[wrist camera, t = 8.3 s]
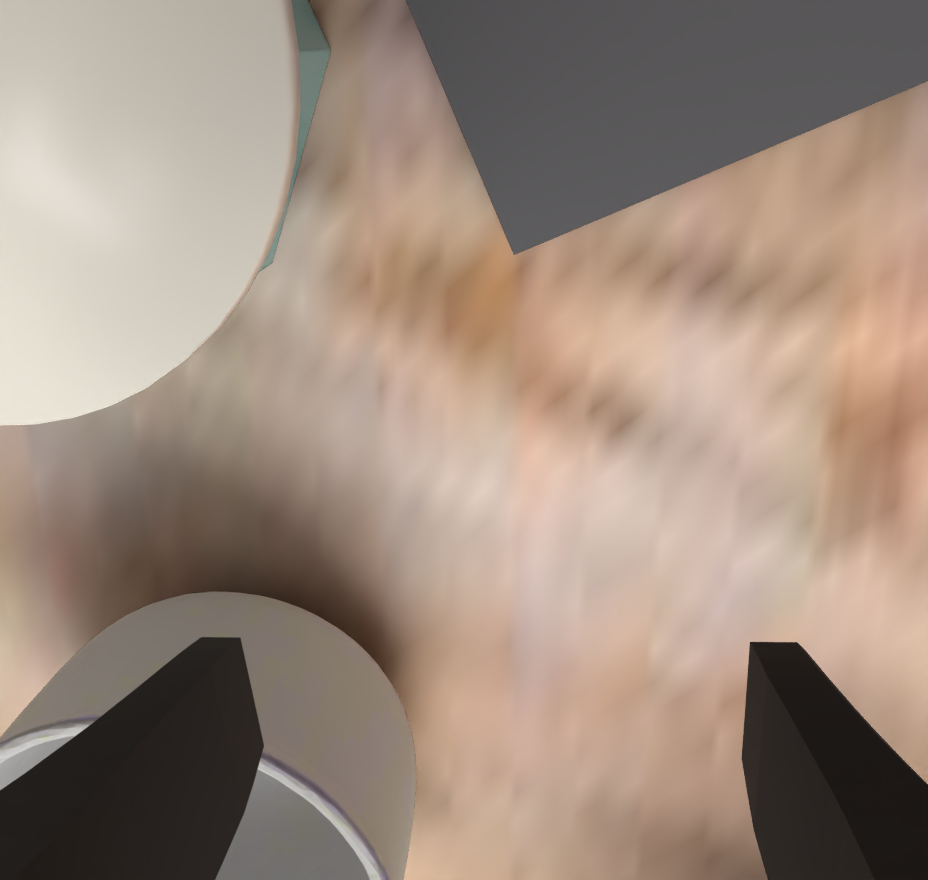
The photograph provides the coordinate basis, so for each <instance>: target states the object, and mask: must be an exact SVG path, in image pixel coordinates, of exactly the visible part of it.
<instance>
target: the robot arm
mask: <svg viewBox="0 0 928 880" xmlns="http://www.w3.org/2000/svg"><path fill="white" fill-rule="evenodd" d="M263 748H264V742H263V738H262V733H261V729H260V724H259V720H258V715H257V711H256V706H255V701H254V697H253V692H252V688H251V683H250V679H249V674H248V669H247V665H246V660H245V656H244V651H243V647H242V642H241V638H240V637H201V638H199V639H198V640H196V641H195V642H194V643H192V644H191V645H190V646H188V647H187V648H186V649H184V650H183V651H182V652H180V653H179V654H178V655H177V656H175V657H174V658H173V659H172V660H170V661H169V662H168V663H167V664H165V665H164V666H163V667H162V668H161V669H159V670H158V671H157V672H156V673H154V674H153V675H152V676H151V677H149V678H148V679H147V680H146V681H145V682H143V683H142V684H141V685H140V686H138V687H137V688H136V689H135V690H133V691H132V692H131V693H130V694H128V695H127V696H126V697H125V698H123V699H122V700H121V701H120V702H118V703H117V704H116V705H115V706H113V707H112V708H111V709H110V710H108V711H107V712H106V713H105V714H103V715H102V716H101V717H100V718H98V719H97V720H96V721H95V722H93V723H92V724H91V725H89V726H88V727H87V728H86V729H84V730H83V731H82V732H80V733H79V734H77V735H76V736H75V737H73V738H72V739H71V740H69V741H68V742H67V743H65V744H64V745H62V746H61V747H60V748H58V749H57V750H56V751H54V752H53V753H52V754H50V755H49V756H48V757H46V758H45V759H43V760H42V761H41V762H39V763H38V764H37V765H35V766H34V767H33V768H31V769H30V770H29V771H27V772H26V773H24V774H23V775H22V776H20V777H19V778H17V779H16V780H14V781H13V782H11V783H10V784H9V785H7V786H6V787H4V788H3V789H1V790H0V880H215V879H216V877H217V875H218V872H219V870H220V868H221V866H222V863H223V861H224V859H225V856H226V854H227V852H228V850H229V847H230V845H231V843H232V840H233V838H234V836H235V833H236V831H237V829H238V827H239V824H240V822H241V819H242V817H243V815H244V812H245V809H246V806H247V803H248V800H249V796H250V793H251V790H252V787H253V784H254V780H255V777H256V773H257V769H258V766H259V762H260V759H261V755H262V752H263ZM742 762H743V769H744V775H745V781H746V787H747V793H748V799H749V805H750V810H751V816H752V822H753V827H754V832H755V836H756V839H757V843H758V846H759V850H760V853H761V857H762V860H763V864H764V867H765V871H766V874H767V878H768V880H928V784H927V783H926V782H925V781H924V780H923V779H922V778H921V777H920V776H919V775H918V774H917V773H916V772H915V771H914V770H913V769H912V768H911V767H910V766H909V765H908V764H907V763H906V762H905V761H904V760H903V759H902V758H901V757H900V756H899V755H898V754H897V753H896V752H895V751H894V750H893V749H892V748H891V747H890V746H889V745H888V743H887V742H886V741H885V740H884V739H883V738H882V737H881V736H880V735H879V734H878V733H877V732H876V731H875V730H874V729H873V728H872V727H871V726H870V724H869V723H868V722H867V721H866V720H865V719H864V718H863V717H862V716H861V715H860V713H859V712H858V711H857V710H856V709H855V708H854V707H853V706H852V704H851V703H850V702H849V701H848V700H847V699H846V698H845V696H844V695H843V694H842V693H841V692H840V691H839V690H838V688H837V687H836V686H835V685H834V684H833V683H832V681H831V680H830V679H829V678H828V677H827V676H826V674H825V673H824V672H823V671H822V670H821V668H820V667H819V666H818V665H817V664H816V663H815V661H814V660H813V659H812V658H811V657H810V655H809V654H808V653H807V652H806V651H805V650H804V649H803V648H802V647H801V646H800V645H799V644H798V643H797V642H750V651H749V665H748V679H747V693H746V707H745V721H744V735H743V749H742Z"/></svg>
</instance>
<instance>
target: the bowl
mask: <svg viewBox="0 0 928 880" xmlns="http://www.w3.org/2000/svg"><path fill="white" fill-rule="evenodd" d="M292 7H293V14H294V21H295V28H296V34H297V41H298V48H299V70H300V103H301V109H300V120H299V131H298V142H297V153H296V162H295V166H294V171H293V175H292V180H291V184H290V189H289V193H288V198H287V203H286V207H285V210H284V213H283V216H282V218H281V221H280V224H279V227H278V229H277V232H276V235H275V238H274V240H273V243H272V246H271V248H270V251H269V253H268V255H267V257H266V259H265V261H264V263H263V264H262V266H261V268H260V270H259V272H260V271H261V270H263V269H264V268H266V267H267V266H269V265H270V264H271V263H272V262H273V258H274V254H275V251H276V247H277V243H278V240H279V236H280V233H281V229H282V225H283V222H284V218H285V215H286V211H287V207H288V204H289V200H290V197H291V193H292V189H293V186H294V182H295V178H296V175H297V171H298V168H299V164H300V160H301V157H302V153H303V150H304V146H305V142H306V139H307V135H308V132H309V128H310V124H311V121H312V117H313V114H314V110H315V106H316V103H317V99H318V95H319V92H320V88H321V85H322V81H323V77H324V74H325V70H326V67H327V63H328V59H329V56H330V52H331V50H330V48H329V45H328V43H327V41H326V39H325V37H324V34H323V32H322V30H321V28H320V26H319V24H318V21H317V19H316V17H315V15H314V13H313V11H312V8H311V6H310V4H309V2H308V0H292ZM259 272H258V273H259Z"/></svg>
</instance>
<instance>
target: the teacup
mask: <svg viewBox="0 0 928 880" xmlns="http://www.w3.org/2000/svg"><path fill="white" fill-rule="evenodd" d="M201 637H240V638H241V642H242V647H243V651H244V656H245V660H246V665H247V669H248V674H249V679H250V683H251V688H252V692H253V697H254V701H255V706H256V711H257V715H258V720H259V724H260V729H261V733H262V738H263V742H264V748H263V752H262V755H261V759H260V762H259V766H258V769H257V773H256V777H255V780H254V784H253V787H252V790H251V793H250V796H249V800H248V803H247V806H246V809H245V812H244V815H243V817H242V819H241V822H240V824H239V827H238V829H237V831H236V833H235V836H234V838H233V840H232V843H231V845H230V847H229V850H228V852H227V854H226V856H225V859H224V861H223V863H222V866H221V868H220V870H219V872H218V875H217V877H216V879H215V880H403V879H404V874H405V868H406V863H407V857H408V851H409V844H410V837H411V830H412V823H413V814H414V805H415V795H416V758H415V747H414V742H413V737H412V732H411V729H410V725H409V722H408V719H407V716H406V713H405V710H404V708H403V705H402V703H401V700H400V698H399V696H398V695H397V693H396V691H395V689H394V687H393V685H392V684H391V682H390V681H389V679H388V678H387V677H386V675H385V674H384V672H383V671H382V670H381V668H380V667H379V666H378V664H377V663H376V662H375V661H374V660H373V659H372V657H371V656H370V655H369V654H368V653H367V652H366V651H365V650H364V649H363V648H362V647H361V646H360V645H359V644H358V643H357V642H356V641H354V640H353V639H352V638H350V637H349V636H348V635H346V634H345V633H344V632H342V631H341V630H340V629H338V628H337V627H336V626H334V625H332V624H331V623H329V622H327V621H325V620H324V619H322V618H320V617H319V616H317V615H315V614H313V613H311V612H308V611H306V610H304V609H302V608H299V607H297V606H294V605H291V604H289V603H286V602H283V601H280V600H277V599H273V598H269V597H265V596H260V595H253V594H245V593H237V592H216V591H213V592H202V593H192V594H185V595H181V596H176V597H172V598H168V599H165V600H161V601H158V602H155V603H152V604H149V605H147V606H144V607H142V608H140V609H138V610H136V611H134V612H132V613H129V614H127V615H125V616H124V617H122V618H121V619H119V620H118V621H116V622H114V623H113V624H111V625H110V626H108V627H107V628H105V629H104V630H103V631H101V632H100V633H99V634H98V635H97V636H95V637H94V638H93V639H92V640H90V641H89V642H88V643H87V644H86V645H85V646H84V647H82V648H81V649H80V650H79V651H78V652H77V653H76V654H75V655H74V656H73V657H72V658H71V659H70V660H69V661H68V662H67V663H66V664H65V665H64V666H63V667H62V668H61V669H60V670H59V671H58V672H57V673H56V675H55V676H54V677H53V678H52V679H51V680H50V681H49V682H48V683H47V685H46V686H45V687H44V688H43V689H42V690H41V691H40V692H39V693H38V695H37V696H36V697H35V698H34V699H33V700H32V701H31V702H30V703H29V705H28V706H27V707H26V708H25V709H24V710H23V711H22V712H21V714H20V715H19V716H18V717H17V718H16V719H15V721H14V722H13V723H12V724H11V725H10V727H9V728H8V729H7V730H6V731H5V733H4V734H3V735H2V736H1V737H0V790H1V789H3V788H4V787H6V786H7V785H9V784H10V783H11V782H13V781H14V780H16V779H17V778H19V777H20V776H22V775H23V774H24V773H26V772H27V771H29V770H30V769H31V768H33V767H34V766H35V765H37V764H38V763H39V762H41V761H42V760H43V759H45V758H46V757H48V756H49V755H50V754H52V753H53V752H54V751H56V750H57V749H58V748H60V747H61V746H62V745H64V744H65V743H67V742H68V741H69V740H71V739H72V738H73V737H75V736H76V735H77V734H79V733H80V732H82V731H83V730H84V729H86V728H87V727H88V726H89V725H91V724H92V723H93V722H95V721H96V720H97V719H98V718H100V717H101V716H102V715H103V714H105V713H106V712H107V711H108V710H110V709H111V708H112V707H113V706H115V705H116V704H117V703H118V702H120V701H121V700H122V699H123V698H125V697H126V696H127V695H128V694H130V693H131V692H132V691H133V690H135V689H136V688H137V687H138V686H140V685H141V684H142V683H143V682H145V681H146V680H147V679H148V678H149V677H151V676H152V675H153V674H154V673H156V672H157V671H158V670H159V669H161V668H162V667H163V666H164V665H165V664H167V663H168V662H169V661H170V660H172V659H173V658H174V657H175V656H177V655H178V654H179V653H180V652H182V651H183V650H184V649H186V648H187V647H188V646H190V645H191V644H192V643H194V642H195V641H196V640H198V639H199V638H201Z"/></svg>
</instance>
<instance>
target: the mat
mask: <svg viewBox="0 0 928 880" xmlns="http://www.w3.org/2000/svg"><path fill="white" fill-rule="evenodd" d="M406 1H407V4H408V6H409V8H410V11H411V13H412V15H413V18H414V20H415V23H416V25H417V27H418V30H419V32H420V34H421V37H422V39H423V41H424V44H425V46H426V49H427V51H428V53H429V56H430V58H431V60H432V63H433V65H434V67H435V70H436V72H437V74H438V77H439V79H440V82H441V84H442V86H443V89H444V91H445V93H446V96H447V98H448V100H449V103H450V105H451V107H452V110H453V112H454V115H455V117H456V119H457V122H458V124H459V126H460V129H461V131H462V133H463V136H464V138H465V141H466V143H467V145H468V148H469V150H470V152H471V155H472V157H473V159H474V162H475V164H476V166H477V169H478V171H479V174H480V176H481V178H482V181H483V183H484V185H485V188H486V190H487V192H488V195H489V197H490V199H491V202H492V204H493V207H494V209H495V211H496V214H497V216H498V218H499V221H500V223H501V225H502V228H503V230H504V233H505V235H506V237H507V240H508V242H509V244H510V247H511V249H512V251H513V254H514V255H515V254H517V253H520V252H522V251H524V250H527V249H529V248H532V247H534V246H536V245H539V244H541V243H544V242H546V241H548V240H551V239H553V238H555V237H558V236H560V235H563V234H565V233H567V232H570V231H572V230H574V229H577V228H579V227H582V226H584V225H586V224H589V223H591V222H593V221H596V220H598V219H601V218H603V217H605V216H608V215H610V214H613V213H615V212H617V211H620V210H622V209H624V208H627V207H629V206H632V205H634V204H636V203H639V202H641V201H643V200H646V199H648V198H651V197H653V196H655V195H658V194H660V193H662V192H665V191H667V190H670V189H672V188H674V187H677V186H679V185H682V184H684V183H686V182H689V181H691V180H693V179H696V178H698V177H701V176H703V175H705V174H708V173H710V172H712V171H715V170H717V169H720V168H722V167H724V166H727V165H729V164H731V163H734V162H736V161H739V160H741V159H743V158H746V157H748V156H751V155H753V154H755V153H758V152H760V151H762V150H765V149H767V148H770V147H772V146H774V145H777V144H779V143H781V142H784V141H786V140H789V139H791V138H793V137H796V136H798V135H800V134H803V133H805V132H808V131H810V130H812V129H815V128H817V127H820V126H822V125H824V124H827V123H829V122H831V121H834V120H836V119H839V118H841V117H843V116H846V115H848V114H850V113H853V112H855V111H858V110H860V109H862V108H865V107H867V106H869V105H872V104H874V103H877V102H879V101H881V100H884V99H886V98H889V97H891V96H893V95H896V94H898V93H900V92H903V91H905V90H908V89H910V88H912V87H915V86H917V85H919V84H922V83H924V82H927V81H928V0H406Z"/></svg>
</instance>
